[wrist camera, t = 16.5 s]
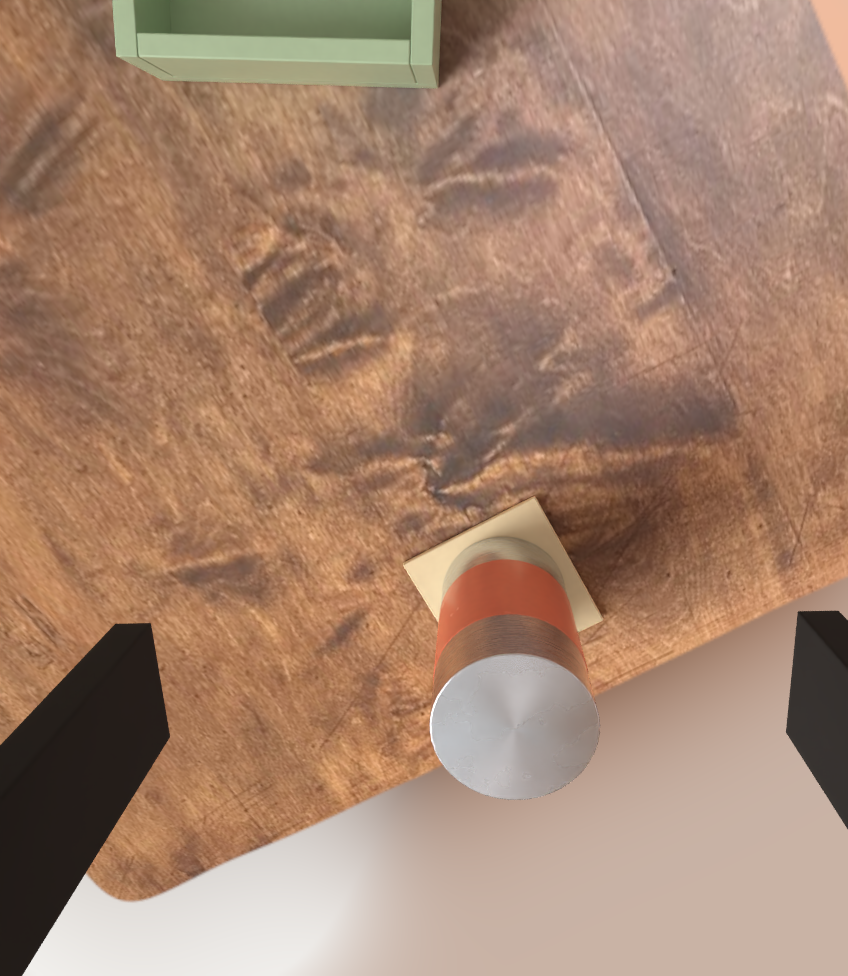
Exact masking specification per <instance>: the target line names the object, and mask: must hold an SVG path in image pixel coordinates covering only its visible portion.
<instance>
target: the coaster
mask: <svg viewBox="0 0 848 976" xmlns="http://www.w3.org/2000/svg"><path fill="white" fill-rule="evenodd" d="M493 537H515V538H519V539H523V540H526V541H529V542H531V543H533V544H535V545H537V546H539V547H540V548H541V549H543V550H544V551H545V552H547V553H548V554H549V555H550V556H551V557H552V559H553V560H554V561H555V562H556V564H557V566H558V567H559V569H560V571H561V574H562V576H563V580H564V584H565V588H566V592H567V595H568V599H569V601H570V605H571V608H572V612H573V616H574V620H575V623H576V627H577V631H578V632H580V631H582V630H584V629H586V628H588V627H590V626H593V625H595V624H597V623H599V622H601V621H603V617H602V615H601V614H600V612H599V610H598V608H597V606H596V605H595V603H594V601H593V599H592V597H591V596H590V594H589V592H588V590H587V588H586V587H585V585H584V583H583V581H582V579H581V578H580V576H579V574H578V572H577V570H576V569H575V567H574V565H573V563H572V561H571V560H570V558H569V556H568V554H567V552H566V551H565V549H564V547H563V545H562V543H561V542H560V540H559V538H558V536H557V534H556V533H555V531H554V529H553V527H552V525H551V524H550V522H549V520H548V518H547V516H546V515H545V513H544V511H543V509H542V507H541V506H540V504H539V502H538V500H537V498H536V497H535V496H533V497H531V498H529V499H527V500H525V501H523V502H521V503H519V504H517V505H515V506H513V507H511V508H509V509H507V510H505V511H503V512H501V513H500V514H498V515H496V516H494V517H492V518H490V519H488V520H486V521H484V522H482V523H480V524H478V525H476V526H474V527H472V528H470V529H468V530H466V531H464V532H462V533H460V534H458V535H457V536H455V537H453V538H451V539H449V540H447V541H445V542H443V543H441V544H439V545H437V546H435V547H433V548H431V549H429V550H427V551H425V552H423V553H421V554H419V555H417V556H415V557H414V558H412V559H410V560H408V561H406V562H404V563H403V566H404V568H405V569H406V571H407V573H408V574H409V576H410V577H411V579H412V581H413V582H414V584H415V586H416V587H417V589H418V590H419V592H420V594H421V595H422V597H423V599H424V600H425V602H426V603H427V605H428V607H429V608H430V610H431V612H432V613H433V615H434V616H435V618H436V620H437V621H438V623H439V614H440V608H441V599H442V589H443V582H444V578H445V575H446V572H447V570H448V568H449V566H450V565H451V563H452V562H453V560H454V559H455V558H456V557H457V556H458V555H459V554H460V553H461V552H462V551H463V550H465V549H466V548H467V547H469V546H471V545H472V544H474V543H476V542H479V541H481V540H484V539H488V538H493Z"/></svg>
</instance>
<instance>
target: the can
mask: <svg viewBox="0 0 848 976" xmlns="http://www.w3.org/2000/svg"><path fill="white" fill-rule="evenodd" d="M599 734H600V721H599V714H598V710H597V706H596V702H595V698H594V695H593V691H592V687H591V683H590V679H589V676H588V669H587V665H586V661H585V658H584V654H583V650H582V646H581V642H580V639H579V635H578V631H577V627H576V623H575V620H574V616H573V612H572V608H571V605H570V601H569V599H568V595H567V592H566V588H565V584H564V580H563V576H562V574H561V571H560V569H559V567H558V566H557V564H556V562H555V561H554V560H553V559H552V557H551V556H550V555H549V554H548V553H547V552H545V551H544V550H543V549H541V548H540V547H539V546H537V545H535V544H533V543H531V542H529V541H526V540H523V539H519V538H515V537H493V538H488V539H484V540H481V541H479V542H476V543H474V544H472V545H471V546H469V547H467V548H466V549H465V550H463V551H462V552H461V553H460V554H459V555H458V556H457V557H456V558H455V559H454V560H453V562H452V563H451V565H450V566H449V568H448V570H447V572H446V575H445V578H444V582H443V589H442V599H441V608H440V614H439V624H438V634H437V644H436V654H435V665H434V675H433V692H432V703H431V713H430V736H431V741H432V744H433V747H434V750H435V752H436V754H437V756H438V758H439V760H440V761H441V763H442V764H443V766H444V767H445V768H446V769H447V771H448V772H449V773H450V774H451V775H452V776H453V777H454V778H456V779H457V780H458V781H459V782H460V783H462V784H464V785H465V786H467V787H468V788H470V789H472V790H474V791H476V792H478V793H481V794H484V795H487V796H490V797H495V798H500V799H507V800H523V799H532V798H537V797H541V796H544V795H547V794H550V793H552V792H555V791H557V790H559V789H561V788H562V787H564V786H566V785H567V784H569V783H570V782H571V781H573V780H574V779H575V778H576V777H577V776H578V775H579V774H580V773H581V772H582V771H583V770H584V769H585V768H586V766H587V765H588V763H589V762H590V760H591V758H592V756H593V755H594V752H595V750H596V747H597V744H598V739H599Z"/></svg>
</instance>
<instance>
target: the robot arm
mask: <svg viewBox="0 0 848 976" xmlns="http://www.w3.org/2000/svg"><path fill="white" fill-rule="evenodd" d="M786 733H787V735H788V736H789V738H790V739H791V741H792V742H793V744H794V746H795V747H796V749H797V750H798V752H799V753H800V755H801V756H802V758H803V759H804V761H805V763H806V764H807V766H808V767H809V769H810V771H811V772H812V774H813V775H814V777H815V778H816V780H817V782H818V783H819V785H820V786H821V788H822V790H823V791H824V793H825V794H826V795H827V797H828V799H829V800H830V802H831V803H832V805H833V807H834V808H835V810H836V811H837V813H838V815H839V816H840V818H841V819H842V821H843V823H844V824H845V826H846V827H847V829H848V620H847V619H846V618H845V617H844V616H843V615H842V614H841V613H840V612H839V611H802V612H801V611H800V612H798V616H797V626H796V636H795V646H794V657H793V667H792V677H791V688H790V698H789V708H788V718H787V728H786ZM169 738H170V733H169V728H168V722H167V716H166V710H165V704H164V698H163V692H162V686H161V680H160V675H159V669H158V663H157V657H156V651H155V645H154V639H153V633H152V628H151V623H138V624H115V625H114V626H113V627H112V628H111V629H110V630H109V631H108V632H107V633H106V634H105V635H104V636H103V638H102V639H101V640H100V641H99V642H98V643H97V644H96V645H95V646H94V647H93V648H92V649H91V650H90V651H89V652H88V653H87V654H86V655H85V657H84V658H83V659H82V660H81V661H80V662H79V663H78V664H77V665H76V666H75V667H74V668H73V669H72V670H71V671H70V672H69V673H68V674H67V676H66V677H65V678H64V679H63V680H62V681H61V682H60V683H59V684H58V685H57V686H56V687H55V688H54V689H53V690H52V691H51V692H50V693H49V695H48V696H47V697H46V698H45V699H44V700H43V701H42V702H41V703H40V704H39V705H38V706H37V707H36V708H35V709H34V710H33V711H32V712H31V714H30V715H29V716H28V717H27V718H26V719H25V720H24V721H23V722H22V723H21V724H20V725H19V726H18V727H17V728H16V729H15V730H14V731H13V733H12V734H11V735H10V736H9V737H8V738H7V739H6V740H5V741H4V742H3V743H2V744H1V745H0V976H22V975H23V973H24V972H25V970H26V968H27V967H28V965H29V964H30V962H31V960H32V959H33V957H34V955H35V954H36V952H37V951H38V949H39V947H40V946H41V944H42V943H43V941H44V939H45V938H46V936H47V935H48V933H49V931H50V929H51V928H52V926H53V925H54V923H55V922H56V920H57V918H58V917H59V915H60V914H61V912H62V910H63V909H64V907H65V905H66V904H67V902H68V901H69V899H70V897H71V896H72V894H73V892H74V891H75V889H76V888H77V886H78V884H79V883H80V881H81V880H82V878H83V876H84V875H85V873H86V872H87V870H88V868H89V867H90V865H91V863H92V862H93V860H94V859H95V857H96V855H97V854H98V852H99V851H100V849H101V847H102V846H103V844H104V843H105V841H106V839H107V838H108V836H109V834H110V833H111V831H112V830H113V828H114V826H115V825H116V823H117V822H118V820H119V818H120V817H121V815H122V813H123V812H124V810H125V809H126V807H127V805H128V804H129V802H130V801H131V799H132V797H133V796H134V794H135V792H136V791H137V789H138V788H139V786H140V784H141V783H142V781H143V780H144V778H145V776H146V775H147V773H148V771H149V770H150V768H151V767H152V765H153V763H154V762H155V760H156V759H157V757H158V755H159V754H160V752H161V750H162V749H163V747H164V746H165V744H166V742H167V741H168V739H169Z"/></svg>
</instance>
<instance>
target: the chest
mask: <svg viewBox="0 0 848 976" xmlns="http://www.w3.org/2000/svg"><path fill="white" fill-rule="evenodd" d="M112 3H113V17H114V31H115V45H116V56H117V57H119V58H121V59H123V60H125V61H127V62H129V63H130V64H132V65H134V66H136V67H138V68H140V69H142V70H144V71H146V72H148V73H150V74H151V75H153V76H155V77H157V78H159V79H161V80H166V81H199V82H233V83H267V84H301V85H335V86H369V87H403V88H438V84H439V59H440V33H441V7H442V0H112Z"/></svg>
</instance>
